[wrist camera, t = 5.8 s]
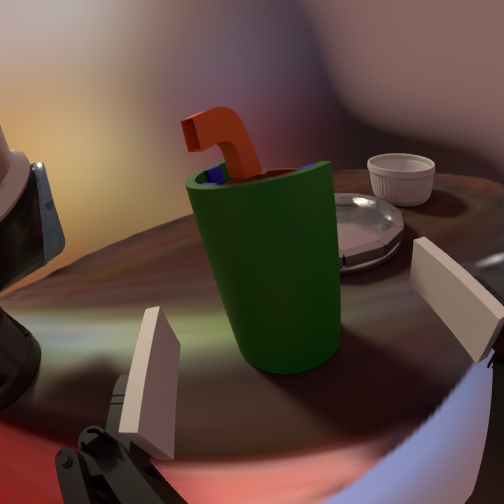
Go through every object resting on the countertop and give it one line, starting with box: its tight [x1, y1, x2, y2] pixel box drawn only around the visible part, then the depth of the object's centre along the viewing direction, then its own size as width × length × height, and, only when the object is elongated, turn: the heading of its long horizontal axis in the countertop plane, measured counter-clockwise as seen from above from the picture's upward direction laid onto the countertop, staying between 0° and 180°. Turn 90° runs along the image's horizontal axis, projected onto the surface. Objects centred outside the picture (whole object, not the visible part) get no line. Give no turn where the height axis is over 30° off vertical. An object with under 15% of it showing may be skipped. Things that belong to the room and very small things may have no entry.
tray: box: [334, 193, 404, 276], centre depth 39 cm, size 20×20×3 cm
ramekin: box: [368, 154, 435, 206], centre depth 45 cm, size 13×13×7 cm
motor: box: [181, 107, 341, 374], centre depth 20 cm, size 10×9×20 cm
